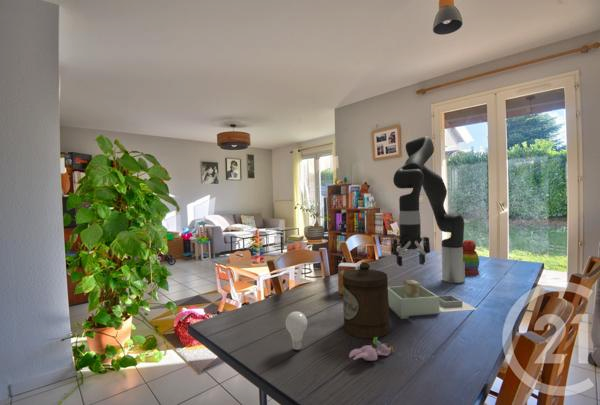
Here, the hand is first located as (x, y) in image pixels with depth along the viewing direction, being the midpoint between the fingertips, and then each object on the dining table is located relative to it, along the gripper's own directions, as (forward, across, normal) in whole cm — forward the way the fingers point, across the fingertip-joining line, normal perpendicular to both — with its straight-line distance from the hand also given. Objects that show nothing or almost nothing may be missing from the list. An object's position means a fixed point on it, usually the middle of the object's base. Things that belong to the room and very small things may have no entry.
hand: (410, 265), depth 111 cm
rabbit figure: (+17, +26, +30) cm, 43 cm away
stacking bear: (+18, -53, -43) cm, 71 cm away
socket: (+17, -15, -1) cm, 23 cm away
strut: (+16, 0, 0) cm, 16 cm away
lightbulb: (+17, +46, +22) cm, 54 cm away
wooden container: (+17, +22, +12) cm, 30 cm away
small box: (+17, +19, -23) cm, 34 cm away
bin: (+17, 0, 0) cm, 17 cm away
